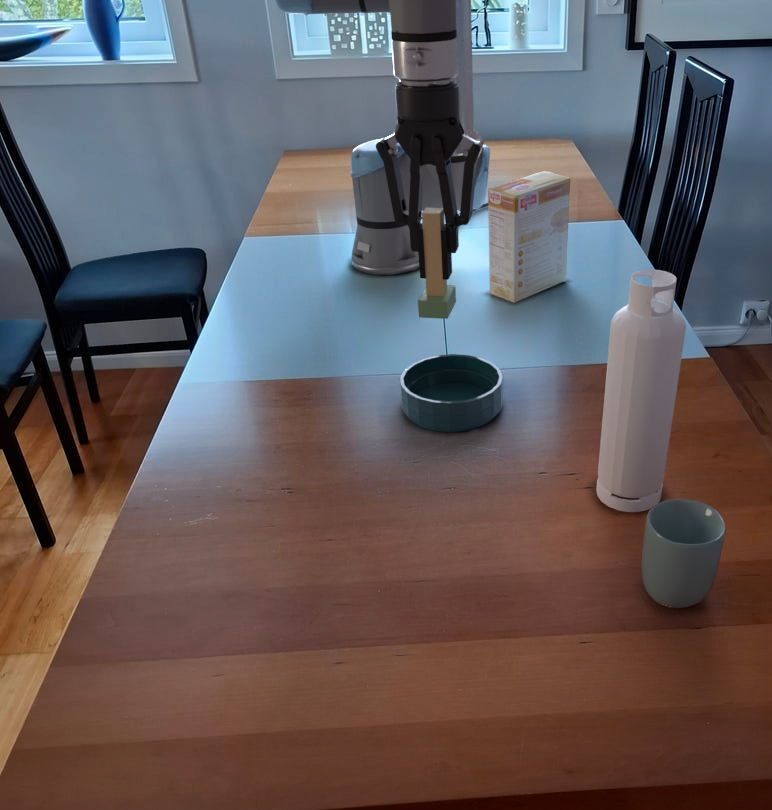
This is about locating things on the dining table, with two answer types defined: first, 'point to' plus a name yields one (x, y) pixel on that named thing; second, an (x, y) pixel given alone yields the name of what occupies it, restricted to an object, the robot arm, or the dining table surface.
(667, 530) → the cup
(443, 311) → the brush
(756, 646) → the dining table surface
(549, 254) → the coffeecake box
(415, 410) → the bowl
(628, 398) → the bottle
